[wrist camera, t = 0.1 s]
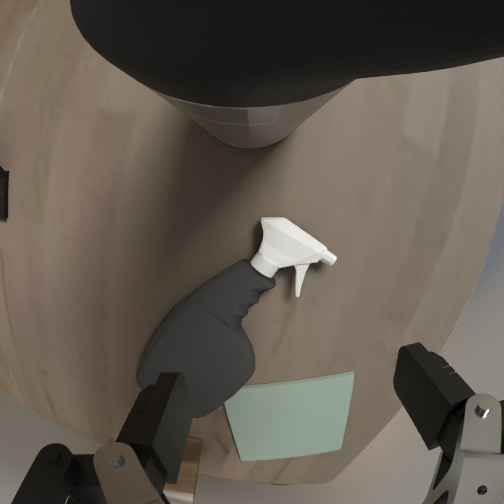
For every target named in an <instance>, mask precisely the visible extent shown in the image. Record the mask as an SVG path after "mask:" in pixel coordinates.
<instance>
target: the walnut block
mask: <svg viewBox="0 0 504 504" xmlns="http://www.w3.org/2000/svg"><path fill="white" fill-rule="evenodd" d="M201 447H202V439H201V438H195V437H189V436H188V438H187V442H186V446H185V450H184V454H183V458H182V462H181V466H180V471H179V475H178V479H177V483H176V484H168V483H165V486H164V490H163V492H164V494H165V495H166V497H167V498H168V500H169V502H170V503H175V504H193V503H194V496H195V489H196V482H197V476H198V469H199V463H200V456H201Z"/></svg>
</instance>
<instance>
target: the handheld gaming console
mask: <svg viewBox="0 0 504 504" xmlns="http://www.w3.org/2000/svg"><path fill="white" fill-rule="evenodd" d="M8 181H9V171H4V170H3V169H2V167H1V166H0V218H1V219H5V218H7V217H8Z"/></svg>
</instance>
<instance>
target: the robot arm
mask: <svg viewBox="0 0 504 504" xmlns="http://www.w3.org/2000/svg"><path fill="white" fill-rule="evenodd" d="M70 5H71V12H72V15H73V18H74V21H75V23H76V25H77V27H78V29H79V31H80V33H81V34H82V36H83V37H84V38H85V40H86V41H87V42H88V43H89V44H90V46H91V47H92V48H93V49H94V50H95V51H97V52H98V53H99V54H100V55H101V56H102V57H103V58H105V59H106V60H107V61H109V62H110V63H111V64H113V65H114V66H116V67H117V68H119V69H120V70H122V71H123V72H125V73H126V74H128V75H129V76H131V77H132V78H134V79H135V80H137V81H138V82H140V83H142V84H144V85H145V86H146V87H148V88H149V89H151V90H152V91H154V92H155V93H156V94H158V95H159V96H161V97H162V98H163V99H165V100H166V101H168V102H169V103H171V104H172V105H173V106H175V107H177V108H178V109H179V110H181V111H182V112H183V113H185V114H186V115H187V116H189V117H190V118H191V119H193V120H194V121H195V122H196V123H198V124H199V125H200V126H202V127H203V128H204V129H206V130H207V131H208V132H209V133H211V134H212V135H213V136H214V137H216V138H217V139H219V140H221V141H222V142H224V143H226V144H228V145H231V146H233V147H238V148H244V149H258V148H262V147H267V146H270V145H272V144H275V143H277V142H279V141H281V140H282V139H283V138H285V137H286V136H288V135H289V134H290V133H291V132H292V131H294V130H295V129H296V128H297V127H298V126H299V125H301V124H302V123H303V122H304V121H305V120H306V119H308V118H309V117H310V116H311V115H312V114H314V113H315V112H316V111H317V110H318V109H320V108H321V107H322V106H323V105H324V104H326V103H327V102H328V101H329V100H330V99H332V98H333V97H334V96H335V95H337V94H338V93H339V92H340V91H341V90H342V89H344V88H345V87H346V86H348V85H349V84H350V83H351V82H353V81H354V80H355V79H360V78H369V77H379V76H390V75H400V74H410V73H419V72H428V71H434V70H441V69H447V68H452V67H457V66H463V65H468V64H472V63H476V62H481V61H486V60H490V59H495V58H500V57H504V0H70ZM393 384H394V389H395V392H396V394H397V396H398V397H399V399H400V401H401V402H402V404H403V406H404V407H405V409H406V411H407V413H408V414H409V416H410V418H411V419H412V421H413V423H414V425H415V426H416V428H417V430H418V432H419V433H420V435H421V437H422V439H423V441H424V442H425V444H426V446H427V448H428V450H432V449H434V448H436V447H439V446H440V447H441V449H442V451H441V453H440V456H439V459H438V463H437V466H436V470H435V473H434V476H433V479H432V483H431V486H430V489H429V491H428V494H427V496H426V498H425V500H424V502H423V503H422V504H503V502H504V400H502V401H498V400H497V399H496V398H495V397H494V396H492V395H489V394H483V393H482V394H475V392H473V390H472V389H471V388H470V387H469V386H468V385H467V384H466V382H465V381H464V380H463V379H462V378H461V377H460V376H459V375H458V373H455V370H454V369H453V368H452V367H451V366H449V364H448V363H447V362H446V360H445V359H444V358H443V357H441V356H439V355H438V354H436V353H434V352H428V350H427V349H426V348H425V347H424V346H423V345H422V344H421V343H419V342H418V343H414V344H410V345H406V346H402V347H401V348H400V349H399V353H398V358H397V364H396V369H395V374H394V379H393ZM192 417H193V405H192V400H191V397H190V394H189V391H188V388H187V385H186V381H185V378H184V375H183V373H182V372H161V373H160V375H159V377H158V379H157V381H156V383H155V385H148V386H147V387H146V388H144V389H143V390H142V391H141V392H140V393H139V395H138V397H137V399H136V401H135V405H133V407H132V409H131V413H129V415H128V417H127V419H126V421H125V423H124V425H123V427H122V429H121V431H120V433H119V435H118V437H117V439H116V441H115V442H113V443H108V444H105V445H103V446H102V447H100V448H99V449H98V450H97V451H96V453H95V454H82V455H73V454H72V453H71V451H70V450H69V449H68V448H67V447H66V446H65V445H63V444H58V443H54V444H49V445H47V446H45V447H44V448H42V449H41V450H40V452H39V454H38V455H37V457H36V459H35V460H34V462H33V464H32V466H31V467H30V469H29V471H28V473H27V475H26V476H25V478H24V480H23V482H22V484H21V486H20V488H19V490H18V491H17V494H16V495H15V497H14V499H13V501H12V503H11V504H65V502H66V500H67V497H69V498H68V500H67V503H66V504H171V503H170V502H169V500H168V498H167V497H166V495H165V494H164V492H163V490H164V486H165V483H168V484H176V483H177V479H178V475H179V471H180V466H181V462H182V458H183V454H184V450H185V446H186V442H187V438H188V433H189V429H190V425H191V421H192Z"/></svg>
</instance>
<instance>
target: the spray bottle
mask: <svg viewBox="0 0 504 504" xmlns="http://www.w3.org/2000/svg"><path fill="white" fill-rule="evenodd" d="M261 223H262V227H263V231H264V232H263V240H262V242H261V245H260V248H259V251H258V252H257V253H256V255H255V256H254V257H253V259H252V260H251V261H249V260H247V259H244V258H243V259H242V260H240V261H238V262H237V263H235V264H233V265H232V266H230V267H228V268H227V269H225V270H223V271H222V272H220V273H219V274H217V275H216V276H214V277H213V278H211V279H210V280H208V281H207V282H205V283H204V284H203V285H201V286H200V287H199V288H198V289H196V290H195V291H194V292H193V293H191V294H190V295H189V296H187V297H186V298H185V299H183V300H182V301H181V302H180V303H179V304H178V305H177V306H176V307H175V308H174V309H173V310H172V311H171V312H170V313H169V315H168V316H167V317H166V319H165V320H164V321H163V323H162V324H161V325H160V327H159V328H158V330H157V331H156V333H155V334H154V336H153V338H152V340H151V341H150V343H149V345H148V347H147V348H146V350H145V352H144V354H143V356H142V359H141V361H140V364H139V367H138V370H137V374H136V375H137V380H138V384H139V386H140V387H141V388H142V389H144V388H146V387H147V386H148V385H155V383H156V381H157V379H158V377H159V375H160V373H161V372H182V373H183V375H184V378H185V381H186V385H187V388H188V391H189V394H190V397H191V400H192V405H193V417H194V418H199V417H203V416H205V415H207V414H209V413H211V412H213V411H214V410H216V409H217V408H218V407H220V406H221V405H222V404H223V403H225V402H226V401H227V400H229V399H230V398H231V397H232V396H234V395H235V394H236V393H237V392H238V391H239V390H240V389H241V387H242V386H243V385H244V384H245V383H246V382H247V381H248V380H249V379H250V378H251V376H252V374H253V372H254V371H255V353H254V350H253V347H252V344H251V342H250V340H249V338H248V337H247V335H246V333H245V331H244V330H243V328H242V326H241V321H242V318H243V317H244V316H245V315H247V313H248V308H249V307H251V306H253V305H254V304H256V303H258V301H259V298H260V295H261V293H263V292H265V291H268V290H270V289H272V288H274V287H275V286H276V283H275V279H274V278H273V277H272V276H273V275H274V274H275V272H276V271H277V270H278V268H283V267H288V266H292V265H294V267H295V269H296V277H295V291H296V297H299V295H300V289H301V285H302V282H303V279H304V276H305V273H306V271H307V269H308V267H309V265H310V263H315V262H318V261H319V260H321V261H323V262H325V263H326V264H328V265H330V266H331V265H333V264H334V262H335V261H336V258H337V257H336V256H335V255H333V254H332V253H331V252H329V251H328V250H326V249H327V247H326V246H324V245H323V244H321V243H320V242H319V241H317V240H316V239H314V238H313V237H312V236H310V235H309V234H307V233H306V232H305V231H303V230H302V229H300V228H299V227H297V226H296V225H295V224H293V223H292V222H290V221H289V220H287V219H286V218H284V217H262V218H261Z"/></svg>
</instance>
